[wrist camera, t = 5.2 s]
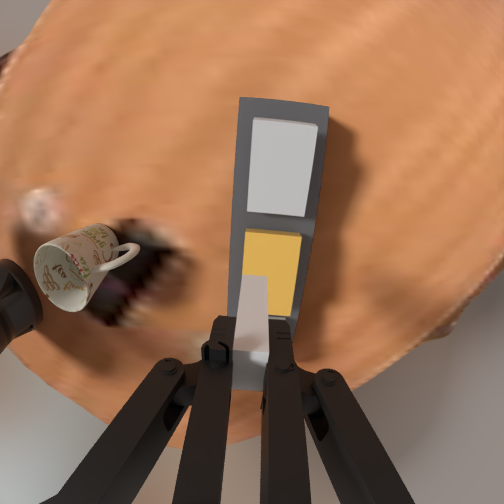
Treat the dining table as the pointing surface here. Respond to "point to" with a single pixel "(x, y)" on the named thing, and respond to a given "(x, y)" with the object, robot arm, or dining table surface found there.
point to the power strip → (267, 220)
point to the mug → (78, 264)
